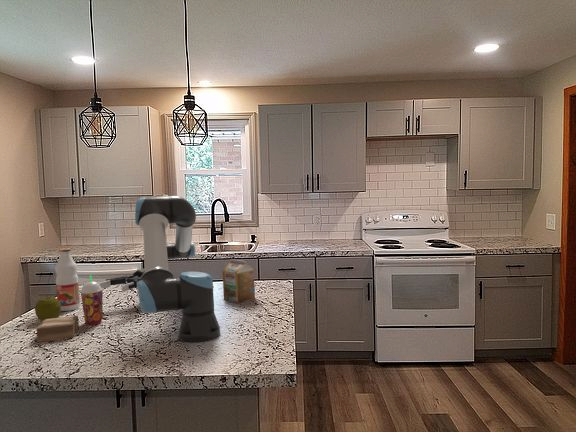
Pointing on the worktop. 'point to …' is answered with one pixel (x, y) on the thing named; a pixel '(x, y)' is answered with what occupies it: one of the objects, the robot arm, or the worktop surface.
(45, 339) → the brown flat block
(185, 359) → the worktop surface
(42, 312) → the apple
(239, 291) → the milk carton
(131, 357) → the worktop surface
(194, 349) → the worktop surface
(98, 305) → the smoothie
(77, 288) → the fruit juice
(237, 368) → the worktop surface
